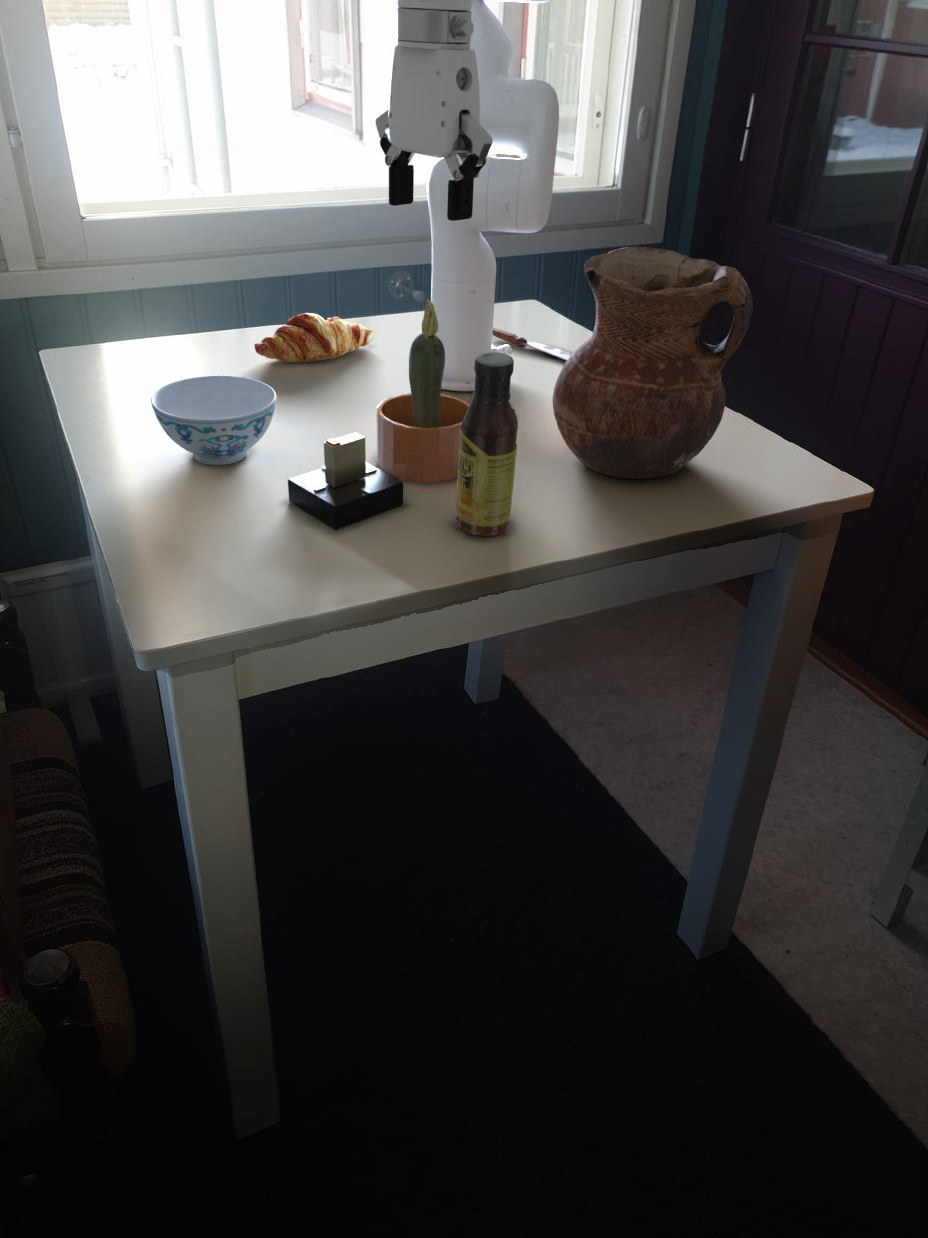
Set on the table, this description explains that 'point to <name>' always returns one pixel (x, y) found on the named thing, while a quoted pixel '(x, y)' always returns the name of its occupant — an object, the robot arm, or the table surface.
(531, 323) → the table surface
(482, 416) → the sauce bottle
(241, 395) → the chinaware
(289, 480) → the panel
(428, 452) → the terracotta pot
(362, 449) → the hob knob
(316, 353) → the croissant
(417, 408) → the vegetable
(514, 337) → the kitchen knife
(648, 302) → the jug
